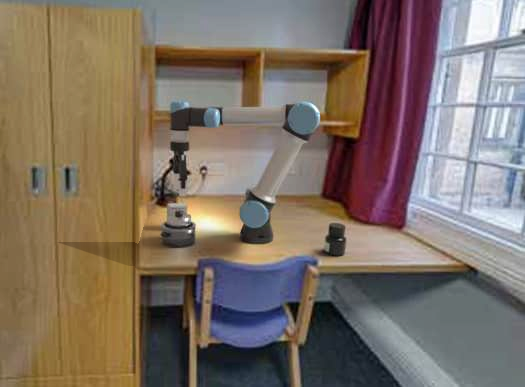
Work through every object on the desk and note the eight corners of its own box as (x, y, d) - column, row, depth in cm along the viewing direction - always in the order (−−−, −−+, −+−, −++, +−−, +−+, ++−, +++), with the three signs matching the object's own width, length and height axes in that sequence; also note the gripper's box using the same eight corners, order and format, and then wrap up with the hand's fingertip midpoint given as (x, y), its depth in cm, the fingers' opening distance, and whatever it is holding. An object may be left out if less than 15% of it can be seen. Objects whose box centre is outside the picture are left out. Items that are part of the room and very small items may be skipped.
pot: (179, 233, 188) (180, 216, 187) (204, 239, 182) (205, 222, 180) (150, 244, 173) (150, 226, 171) (177, 252, 166) (177, 233, 164)
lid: (195, 225, 178) (195, 211, 176) (180, 231, 169) (180, 216, 168) (177, 221, 182) (177, 207, 181) (161, 226, 174) (161, 211, 172)
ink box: (168, 231, 190) (168, 206, 187) (166, 228, 194) (166, 203, 192) (187, 229, 193) (187, 205, 191) (184, 226, 198) (185, 202, 195)
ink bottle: (327, 246, 182) (329, 220, 179) (347, 250, 179) (350, 224, 176) (321, 254, 173) (323, 226, 170) (342, 258, 170) (345, 230, 167)
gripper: (165, 137, 177) (166, 186, 182) (175, 144, 155) (175, 200, 160) (183, 137, 180) (183, 185, 185) (195, 144, 157) (195, 199, 162)
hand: (179, 192), depth 172 cm, fingers open, 13 cm apart
